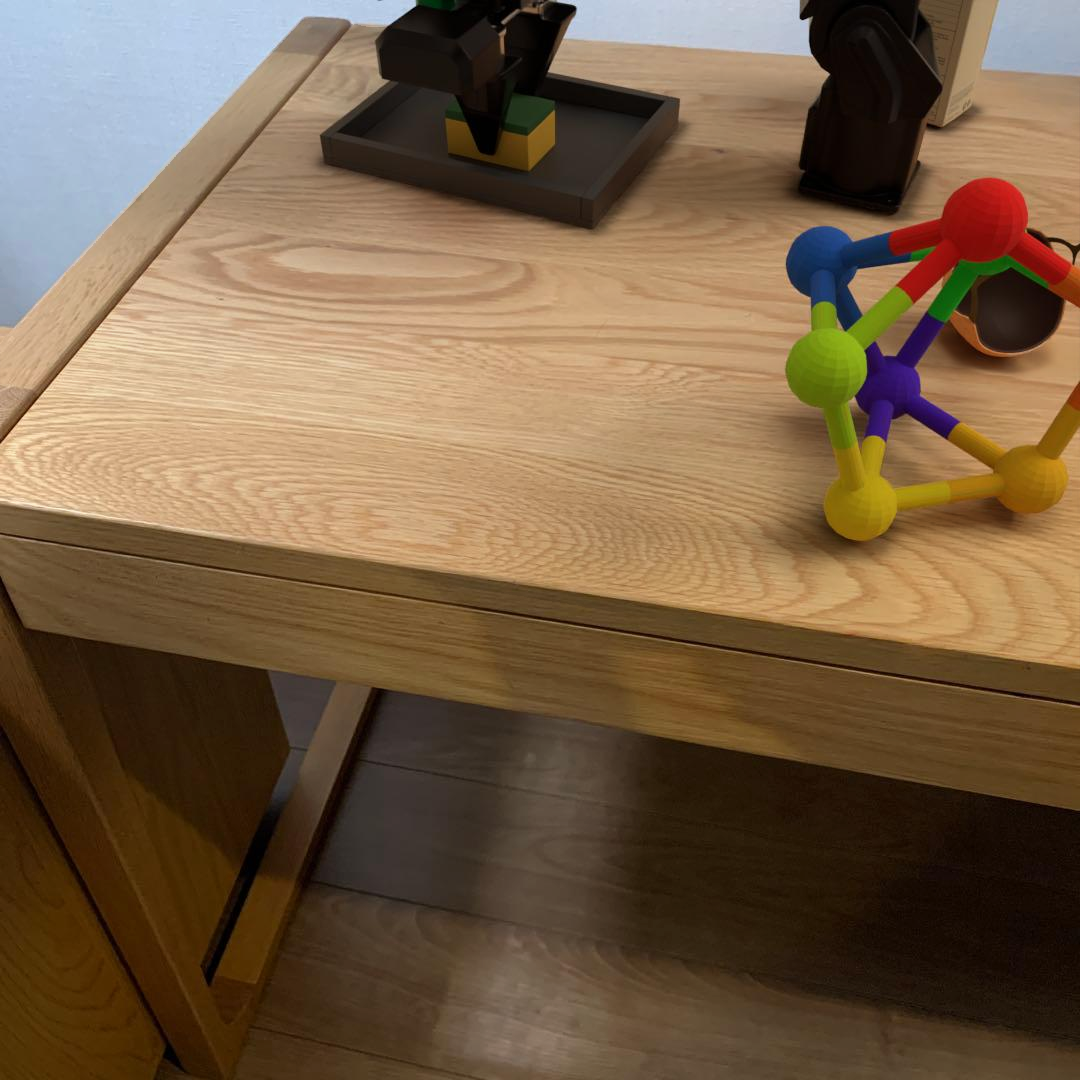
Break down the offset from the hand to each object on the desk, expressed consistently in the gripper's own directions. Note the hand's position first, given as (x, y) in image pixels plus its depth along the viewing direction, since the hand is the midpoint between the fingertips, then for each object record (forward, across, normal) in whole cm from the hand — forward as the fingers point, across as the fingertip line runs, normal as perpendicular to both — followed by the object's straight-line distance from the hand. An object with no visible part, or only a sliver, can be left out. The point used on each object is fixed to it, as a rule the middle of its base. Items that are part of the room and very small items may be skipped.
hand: (502, 138), depth 71 cm
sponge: (+1, 0, 0) cm, 1 cm away
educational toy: (+1, +19, +30) cm, 35 cm away
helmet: (-6, +10, +34) cm, 36 cm away
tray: (+1, -1, -1) cm, 2 cm away
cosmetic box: (+2, -18, +23) cm, 30 cm away
